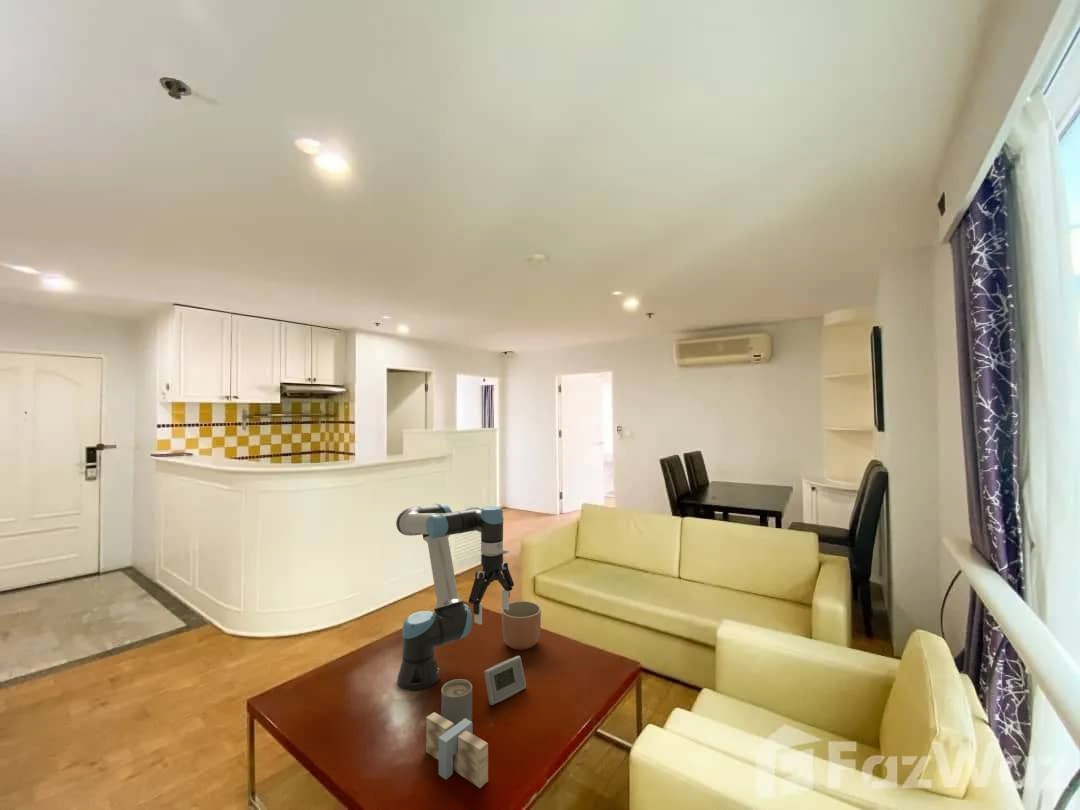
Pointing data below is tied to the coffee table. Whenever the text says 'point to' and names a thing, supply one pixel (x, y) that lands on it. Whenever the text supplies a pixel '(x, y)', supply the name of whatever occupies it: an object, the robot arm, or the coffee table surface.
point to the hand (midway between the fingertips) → (492, 615)
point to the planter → (521, 624)
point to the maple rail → (459, 750)
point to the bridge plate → (451, 747)
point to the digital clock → (504, 680)
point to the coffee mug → (456, 700)
